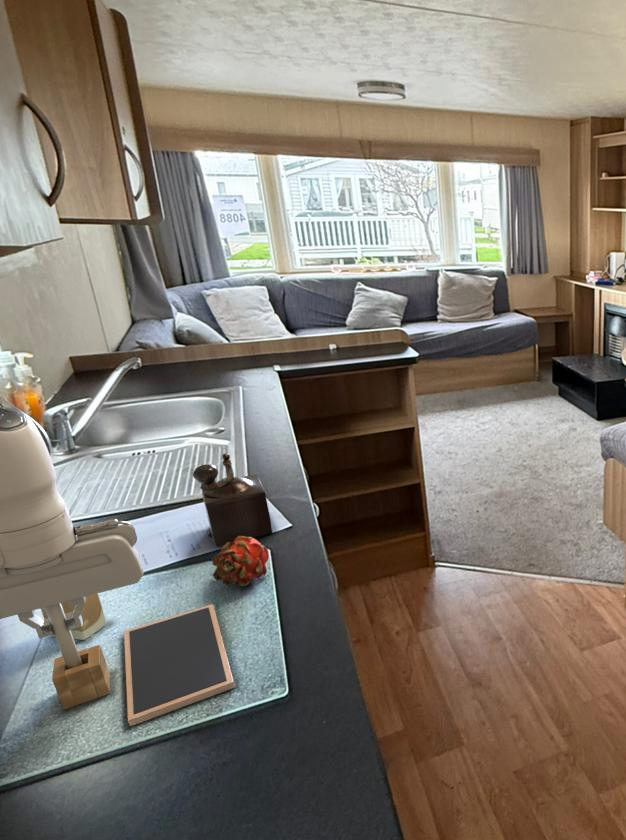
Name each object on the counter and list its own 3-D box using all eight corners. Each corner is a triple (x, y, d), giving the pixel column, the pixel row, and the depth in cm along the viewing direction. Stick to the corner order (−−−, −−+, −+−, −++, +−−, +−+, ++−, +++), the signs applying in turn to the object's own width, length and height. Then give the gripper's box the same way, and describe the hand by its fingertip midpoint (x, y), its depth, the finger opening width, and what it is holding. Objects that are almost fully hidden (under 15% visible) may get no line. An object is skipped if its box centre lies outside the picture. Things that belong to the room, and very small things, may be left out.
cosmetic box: (49, 637, 99) (22, 568, 94) (74, 619, 103) (49, 553, 98) (86, 641, 98) (61, 572, 94) (110, 623, 102) (87, 556, 98)
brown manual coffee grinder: (206, 527, 131) (184, 444, 124) (266, 513, 137) (248, 433, 130) (214, 561, 119) (190, 472, 112) (279, 544, 125) (261, 458, 118)
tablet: (129, 726, 83) (127, 720, 82) (125, 636, 99) (123, 630, 99) (235, 687, 89) (233, 681, 89) (214, 608, 106) (212, 603, 105)
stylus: (71, 682, 86) (36, 590, 81) (71, 675, 88) (37, 584, 82) (86, 678, 87) (53, 586, 82) (86, 671, 88) (53, 580, 83)
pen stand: (63, 709, 85) (51, 679, 83) (65, 687, 89) (54, 658, 87) (110, 693, 88) (99, 664, 86) (110, 673, 92) (99, 644, 90)
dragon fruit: (240, 608, 108) (245, 580, 119) (280, 570, 110) (281, 547, 121) (197, 577, 105) (206, 552, 115) (238, 539, 106) (243, 517, 117)
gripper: (130, 506, 87) (154, 593, 93) (-80, 550, 76) (-39, 645, 81) (131, 524, 83) (157, 615, 88) (-92, 574, 72) (-48, 674, 77)
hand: (61, 630), depth 85 cm, fingers closed on stylus, 1 cm apart
